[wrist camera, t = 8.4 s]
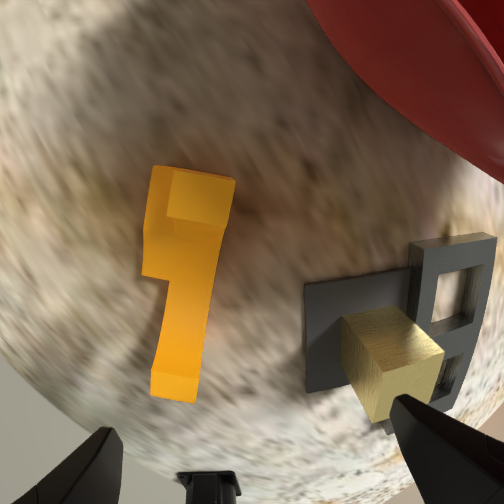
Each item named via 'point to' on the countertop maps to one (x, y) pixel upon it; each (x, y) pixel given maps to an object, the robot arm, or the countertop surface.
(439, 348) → the pale yellow block
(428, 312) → the gray slotted plate
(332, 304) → the mat
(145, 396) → the countertop surface
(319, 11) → the mixing bowl
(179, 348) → the pipe clamp
